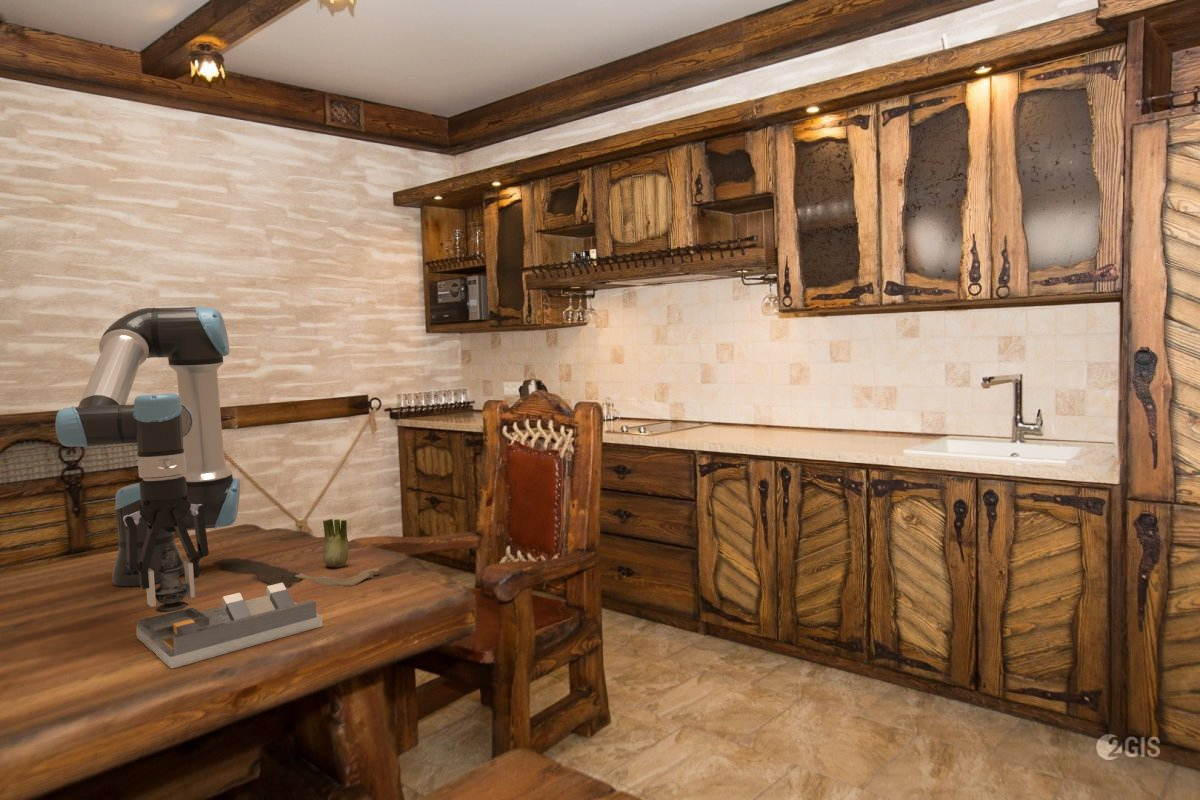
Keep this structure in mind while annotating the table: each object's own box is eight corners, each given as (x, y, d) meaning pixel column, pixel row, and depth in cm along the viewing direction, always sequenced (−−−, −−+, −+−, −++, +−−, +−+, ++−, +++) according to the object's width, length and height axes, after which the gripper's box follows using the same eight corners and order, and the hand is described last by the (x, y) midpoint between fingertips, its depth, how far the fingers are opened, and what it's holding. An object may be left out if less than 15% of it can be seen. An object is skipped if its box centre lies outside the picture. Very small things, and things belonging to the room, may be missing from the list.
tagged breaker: (173, 631, 137) (173, 623, 137) (191, 627, 139) (191, 619, 139) (187, 644, 131) (187, 636, 131) (206, 639, 133) (205, 631, 133)
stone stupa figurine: (197, 602, 144) (192, 540, 144) (174, 613, 139) (169, 548, 138) (170, 602, 146) (165, 540, 145) (146, 612, 140) (141, 547, 139)
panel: (136, 637, 143) (134, 611, 142) (277, 602, 161) (275, 579, 160) (171, 668, 127) (169, 639, 126) (322, 626, 145) (320, 600, 145)
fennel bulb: (352, 565, 188) (349, 517, 187) (335, 570, 184) (332, 521, 183) (336, 563, 191) (333, 515, 190) (320, 568, 187) (317, 519, 186)
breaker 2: (265, 592, 147) (266, 586, 146) (281, 588, 149) (282, 582, 148) (281, 620, 142) (282, 614, 142) (297, 616, 144) (298, 610, 144)
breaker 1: (221, 602, 141) (222, 596, 141) (238, 598, 144) (239, 592, 143) (236, 632, 137) (237, 626, 136) (253, 627, 139) (254, 621, 138)
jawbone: (367, 590, 170) (366, 581, 170) (278, 593, 171) (277, 584, 171) (381, 575, 179) (380, 567, 179) (296, 578, 180) (295, 570, 180)
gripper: (108, 486, 132) (118, 618, 133) (223, 472, 145) (231, 592, 146) (98, 482, 137) (108, 609, 138) (210, 469, 150) (218, 584, 151)
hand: (171, 600), depth 142 cm, fingers closed on stone stupa figurine, 6 cm apart
